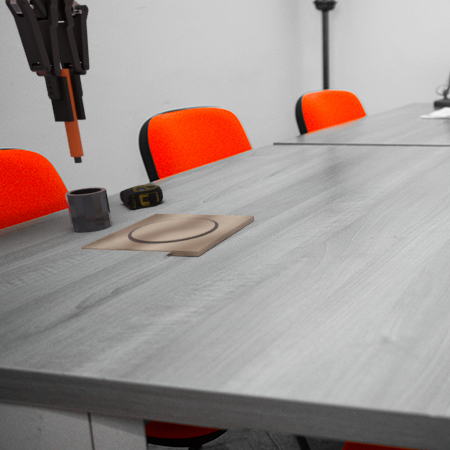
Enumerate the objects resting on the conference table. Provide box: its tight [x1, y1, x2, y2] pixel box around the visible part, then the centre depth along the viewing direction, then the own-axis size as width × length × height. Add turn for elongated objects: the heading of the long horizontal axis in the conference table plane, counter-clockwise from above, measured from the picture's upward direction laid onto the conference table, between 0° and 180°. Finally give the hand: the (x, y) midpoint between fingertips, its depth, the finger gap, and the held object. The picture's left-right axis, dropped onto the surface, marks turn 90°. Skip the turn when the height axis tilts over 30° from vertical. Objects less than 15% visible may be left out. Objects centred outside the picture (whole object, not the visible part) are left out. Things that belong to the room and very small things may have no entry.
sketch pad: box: [81, 213, 255, 258], centre depth 88 cm, size 18×18×1 cm
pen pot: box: [64, 186, 113, 234], centre depth 91 cm, size 6×6×6 cm
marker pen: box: [59, 68, 85, 164], centre depth 86 cm, size 2×2×14 cm
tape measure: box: [119, 183, 164, 210], centre depth 105 cm, size 7×7×4 cm
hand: (70, 120), depth 86 cm, fingers closed on marker pen, 2 cm apart
